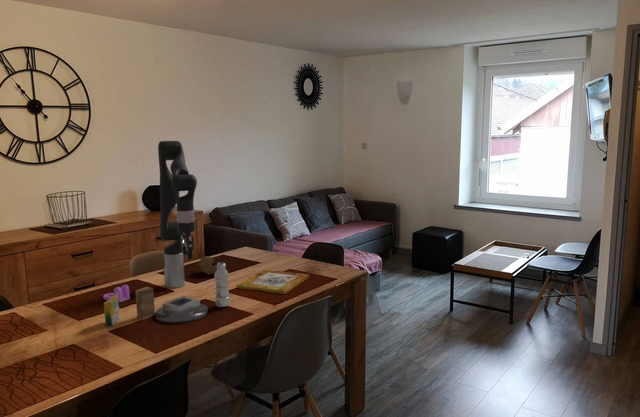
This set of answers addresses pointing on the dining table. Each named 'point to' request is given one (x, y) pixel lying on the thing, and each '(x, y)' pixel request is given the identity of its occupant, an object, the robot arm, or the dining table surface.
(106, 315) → the crayon box
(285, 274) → the picture frame
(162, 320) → the grey round socket base
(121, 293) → the bracket
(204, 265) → the wooden carving
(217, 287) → the plastic bottle
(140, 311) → the tan rectangular block
